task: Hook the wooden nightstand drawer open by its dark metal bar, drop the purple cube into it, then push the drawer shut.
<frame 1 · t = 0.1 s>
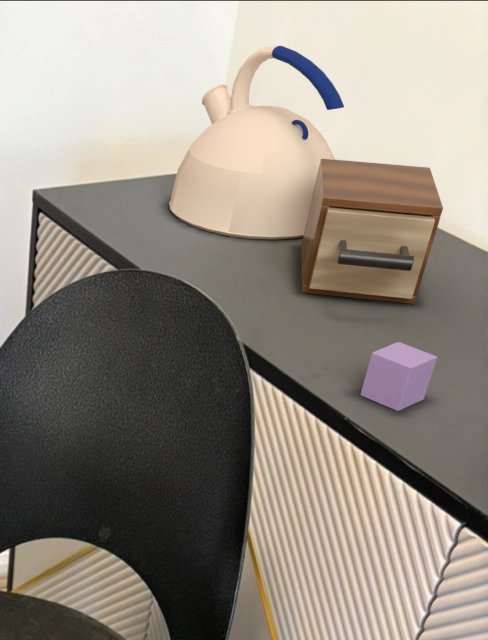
purple cube: (391, 397, 100), on the sideboard
kettle: (249, 214, 139), on the sideboard
wooden nightstand: (354, 274, 123), on the sideboard
drawer: (368, 242, 117), point 5 cm above the sideboard, slide at 0.0 cm, touching wooden nightstand
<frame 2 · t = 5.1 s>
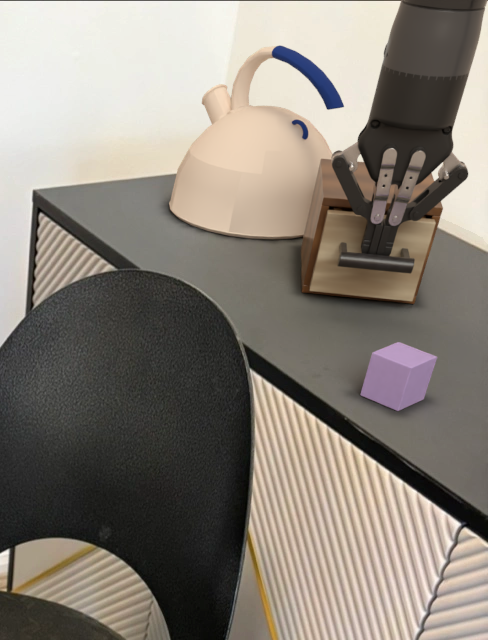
hand: (373, 260, 111), 5 cm above the sideboard, tool pointing down, fingers closed
drawer: (368, 244, 116), point 5 cm above the sideboard, slide at 0.8 cm, touching gripper
everything else where it was.
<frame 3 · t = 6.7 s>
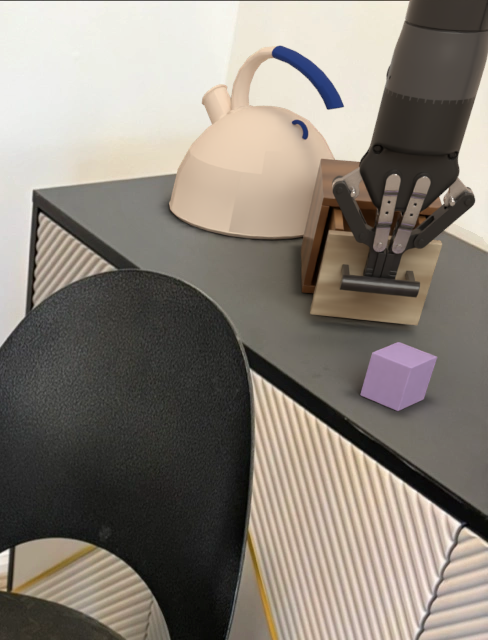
hand: (375, 289, 106), 5 cm above the sideboard, tool pointing down, fingers closed
drawer: (371, 265, 111), point 5 cm above the sideboard, slide at 7.3 cm, touching gripper
everything else where it was.
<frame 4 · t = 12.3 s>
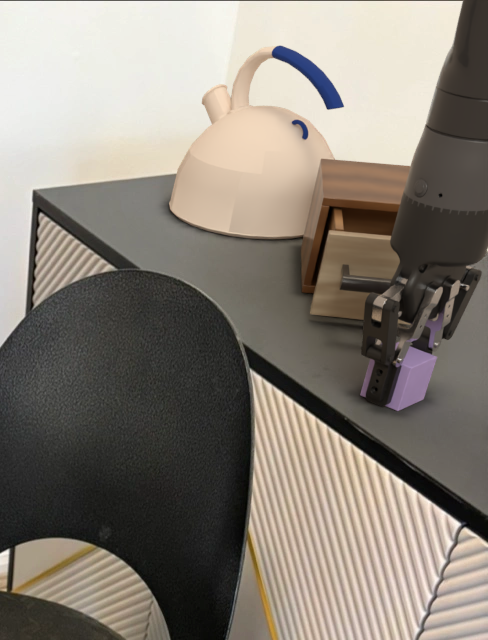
hand: (392, 394, 99), 0 cm above the sideboard, tool pointing down, fingers closed on purple cube, 4 cm apart
purple cube: (391, 397, 100), on the sideboard, touching gripper
drawer: (371, 265, 111), point 5 cm above the sideboard, slide at 7.3 cm
everything else where it was.
when the fingers open (9 cm above the sideboard, at t = 17.0 s): purple cube drops 5 cm and tips over, resting on drawer.
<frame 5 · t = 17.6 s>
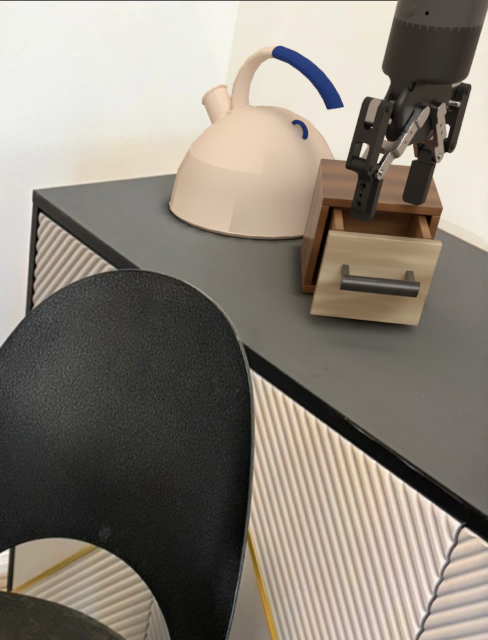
hand: (387, 210, 107), 10 cm above the sideboard, tool pointing down, fingers open, 8 cm apart
purple cube: (375, 275, 111), point 4 cm above the sideboard, tilted 90°, touching drawer
drawer: (371, 265, 111), point 5 cm above the sideboard, slide at 7.3 cm, touching purple cube
everything else where it was.
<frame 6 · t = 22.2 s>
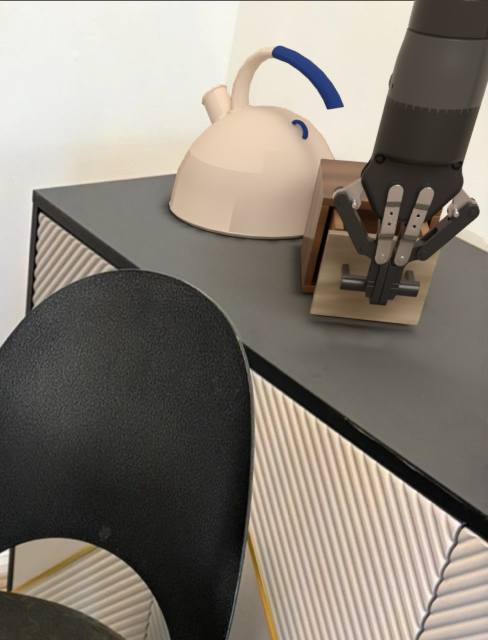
hand: (377, 302, 104), 5 cm above the sideboard, tool pointing down, fingers closed
drawer: (371, 265, 111), point 5 cm above the sideboard, slide at 7.2 cm, touching gripper, purple cube
everything else where it was.
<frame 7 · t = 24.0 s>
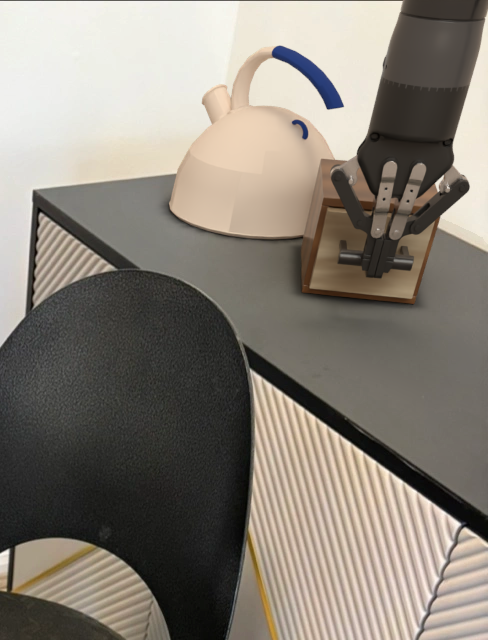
hand: (373, 275, 109), 5 cm above the sideboard, tool pointing down, fingers closed
purple cube: (371, 251, 117), point 4 cm above the sideboard, tilted 90°, touching drawer
drawer: (368, 242, 117), point 5 cm above the sideboard, slide at 0.0 cm, touching wooden nightstand, gripper, purple cube
everything else where it was.
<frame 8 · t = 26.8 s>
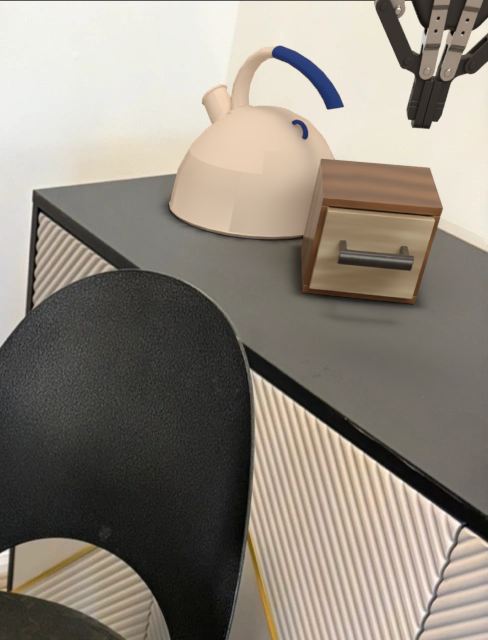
hand: (420, 126, 97), 19 cm above the sideboard, tool pointing down, fingers closed
drawer: (368, 242, 117), point 5 cm above the sideboard, slide at 0.0 cm, touching wooden nightstand, purple cube
everything else where it was.
at the end: drawer pulled out 7.3 cm at the most during the clip, back to where it started at the end; purple cube inside the target area in the wooden nightstand (4.5 cm from its centre), point 4.0 cm above the wooden nightstand's base; drawer slide at 0.0 cm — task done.
